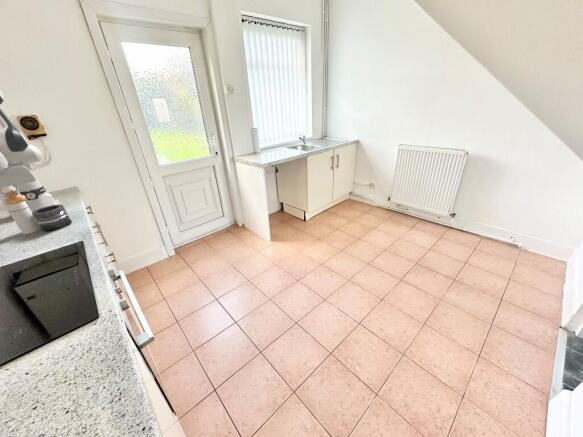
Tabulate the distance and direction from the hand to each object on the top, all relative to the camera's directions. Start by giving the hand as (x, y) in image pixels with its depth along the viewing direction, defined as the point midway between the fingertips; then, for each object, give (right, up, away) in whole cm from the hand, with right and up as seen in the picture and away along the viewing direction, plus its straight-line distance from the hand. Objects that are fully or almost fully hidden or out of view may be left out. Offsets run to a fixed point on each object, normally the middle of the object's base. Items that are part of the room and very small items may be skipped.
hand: (12, 195), depth 106 cm
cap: (0, -3, +1) cm, 3 cm away
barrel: (-1, -14, +22) cm, 26 cm away
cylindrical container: (-12, -17, +19) cm, 28 cm away
